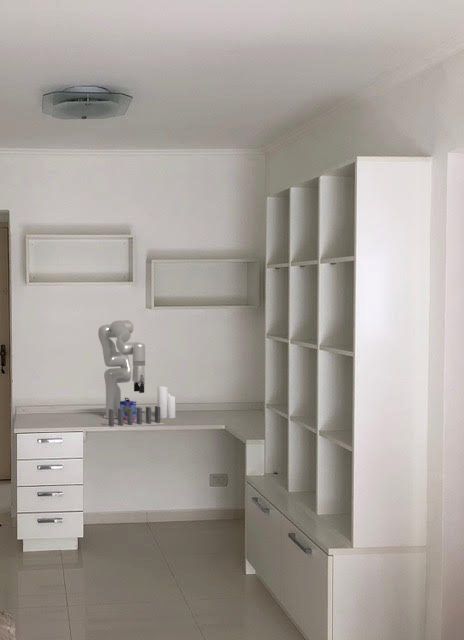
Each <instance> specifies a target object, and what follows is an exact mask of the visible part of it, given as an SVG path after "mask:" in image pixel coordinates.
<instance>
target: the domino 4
mask: <svg viewBox="0 0 464 640" xmlns="http://www.w3.org/2000/svg"><path fill="white" fill-rule="evenodd" d="M136 414H137V420H136V423H137V424H139V425H141V424H142V422H143V408H142V407H139V406H136ZM141 426H142V425H141Z"/></svg>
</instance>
